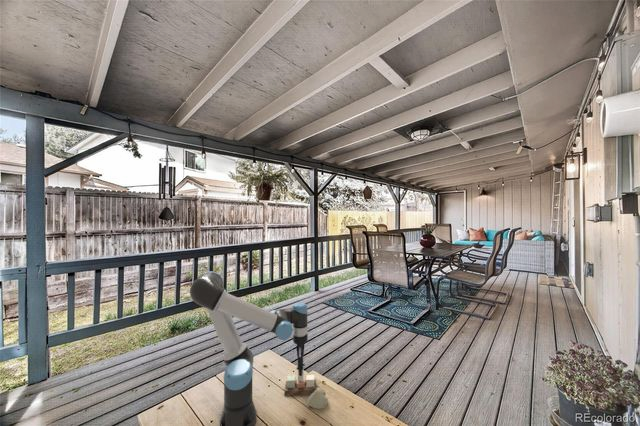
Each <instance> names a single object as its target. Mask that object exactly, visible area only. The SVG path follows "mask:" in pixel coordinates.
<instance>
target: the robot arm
mask: <svg viewBox="0 0 640 426" xmlns="http://www.w3.org/2000/svg"><path fill="white" fill-rule="evenodd" d="M189 296H190V298H191V300H192V301H193V302H194V303H196V305H199V306H201V307H202V308H206V310H207V312H208V315H209V318H210V320H211V322H212V325H213V328H214V329H215V330H214V331H215V332H216V335H217V338H218V340H219V343H220V345H221V347H222V349H223V352H224V354H223V357H222V360H223V361H224V363H225V369H224V373H223V391H224V392H223V410H222V412H221V416H220V417H219V426H255V424H256V423H257V409H256V406H255V402H254V401H253V375H254V374H253V373H254V355H253V352H252V350H251V349H250V348H249V347H248V345H247V343H246V342H243V341H242V339H241V336H240V334H239V332H238V330H237V327H236V323H235V322H234V320H233V318H236V319H239V320H241V321H243V322H246V323H248V324H251V325H253V326H256V327H258V328H260V329H263V330H266V331H268V332H270V333H272V334H275V336H276V338H277V339H279V340H281V341H286V340H288V339H290V338H291V336H292V341H293V344H295V345H296V357H297V367H296V370H297V379H298V381H303V378H304V367H305V363H304V354H305V344H307V343H308V341H309V339H308V338H309V337H308V330H309V328H310V327H309V326H308V304H306V303H305V302H302V301H301V302H295V303H293V304H292V307H290V308H282V309H281V308H280V309H279V308H278V309H273V310H270V311H269V310H267V309H265V308H262V307H260V306H259V305H255V304H253V303H251V302H248V301H246V300H244V299H242V298H241V297H240V298H239V297H238V296H235V295H233V294H230V293H228V292H227V290H226V288H225V287H224V280H223V277H222V275H221V274H220V273H218V272H216V271H207V272H204V273H202V274H200V275H199V276H198V278H197V279H195V280H194V281H193V282H192V284H191V285H190V290H189Z"/></svg>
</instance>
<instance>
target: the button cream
mask: <svg viewBox="0 0 640 426" xmlns="http://www.w3.org/2000/svg"><path fill="white" fill-rule="evenodd" d="M305 380H306V381H307V386H306V388H315V386H314V380H315V374H306V379H305Z"/></svg>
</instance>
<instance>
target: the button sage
mask: <svg viewBox="0 0 640 426" xmlns="http://www.w3.org/2000/svg"><path fill="white" fill-rule="evenodd" d="M286 377H287V378H286V381H287V389H288V388H295V380H296V375H294V374H293V375H287V376H286Z"/></svg>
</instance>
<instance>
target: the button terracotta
mask: <svg viewBox="0 0 640 426" xmlns="http://www.w3.org/2000/svg"><path fill="white" fill-rule="evenodd" d="M296 380H297V388H305V380H306V378H305V377H303V381H298V378H296Z"/></svg>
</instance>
